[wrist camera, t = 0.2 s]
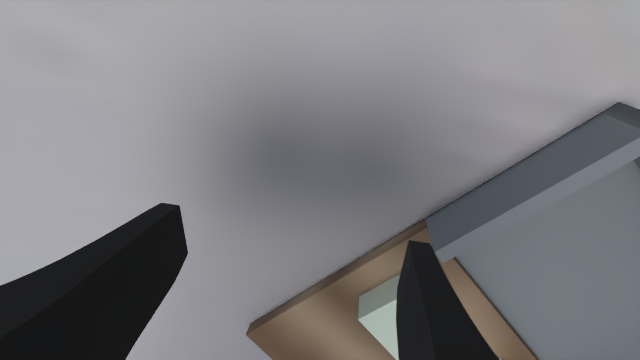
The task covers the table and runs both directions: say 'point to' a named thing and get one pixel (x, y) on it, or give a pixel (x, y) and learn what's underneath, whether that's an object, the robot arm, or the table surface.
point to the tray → (559, 241)
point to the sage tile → (381, 314)
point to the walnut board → (343, 305)
